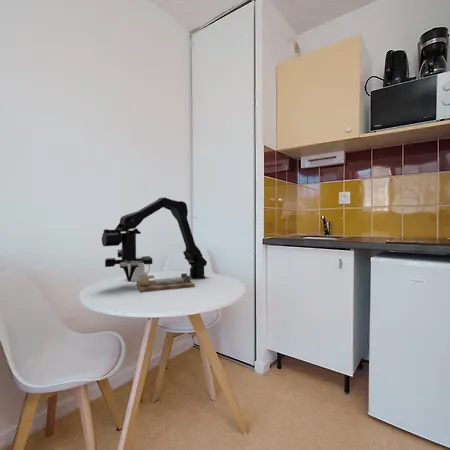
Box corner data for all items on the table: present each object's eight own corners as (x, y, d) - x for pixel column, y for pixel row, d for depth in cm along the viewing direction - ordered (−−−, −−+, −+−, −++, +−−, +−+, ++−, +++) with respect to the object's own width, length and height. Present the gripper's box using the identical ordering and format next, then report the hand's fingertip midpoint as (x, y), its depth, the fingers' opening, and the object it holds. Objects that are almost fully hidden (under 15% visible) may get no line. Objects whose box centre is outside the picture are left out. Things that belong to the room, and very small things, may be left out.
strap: (184, 279, 130) (184, 277, 130) (187, 281, 126) (187, 278, 126) (154, 282, 124) (154, 279, 124) (155, 284, 121) (155, 281, 121)
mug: (153, 279, 138) (153, 257, 138) (130, 282, 130) (130, 259, 130) (146, 276, 144) (146, 255, 144) (123, 279, 137) (123, 257, 136)
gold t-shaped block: (152, 281, 125) (152, 274, 125) (154, 284, 120) (154, 276, 120) (140, 282, 123) (140, 275, 122) (141, 285, 118) (141, 277, 118)
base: (185, 280, 136) (185, 271, 136) (194, 286, 122) (194, 277, 122) (136, 284, 127) (136, 275, 127) (140, 292, 113) (140, 282, 113)
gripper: (148, 242, 129) (149, 276, 129) (105, 244, 122) (105, 279, 122) (152, 244, 119) (152, 281, 119) (104, 246, 112) (105, 285, 112)
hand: (129, 281), depth 118 cm, fingers closed
